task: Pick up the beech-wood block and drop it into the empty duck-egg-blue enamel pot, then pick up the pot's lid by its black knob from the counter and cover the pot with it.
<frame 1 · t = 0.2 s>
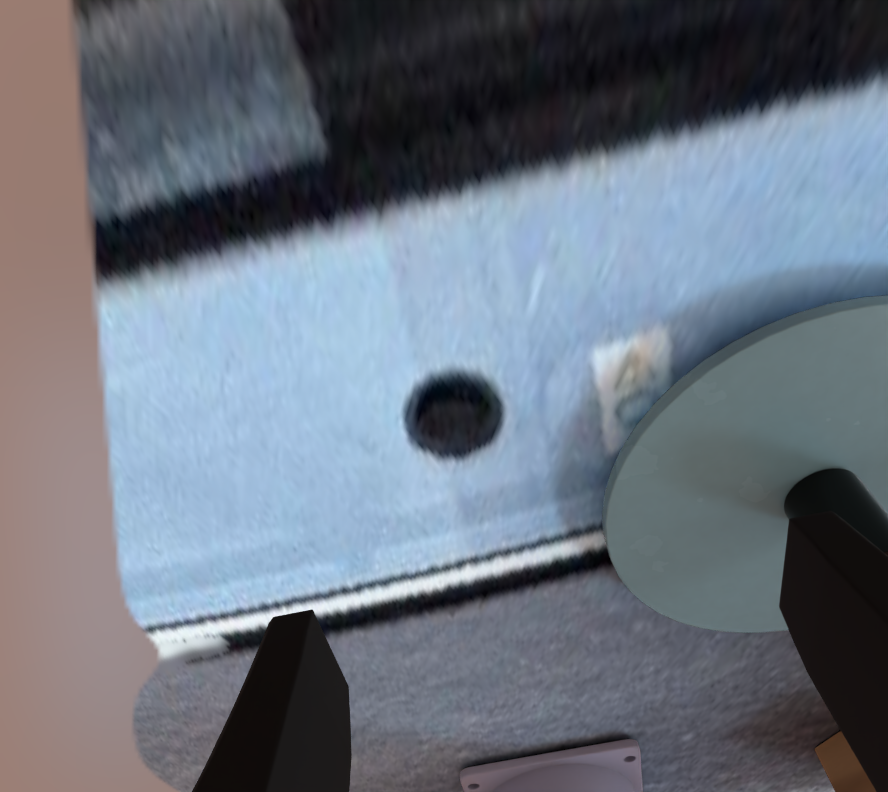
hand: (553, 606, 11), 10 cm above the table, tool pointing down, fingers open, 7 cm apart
lid: (813, 485, 23), point 1 cm above the table
block: (874, 735, 34), on the table
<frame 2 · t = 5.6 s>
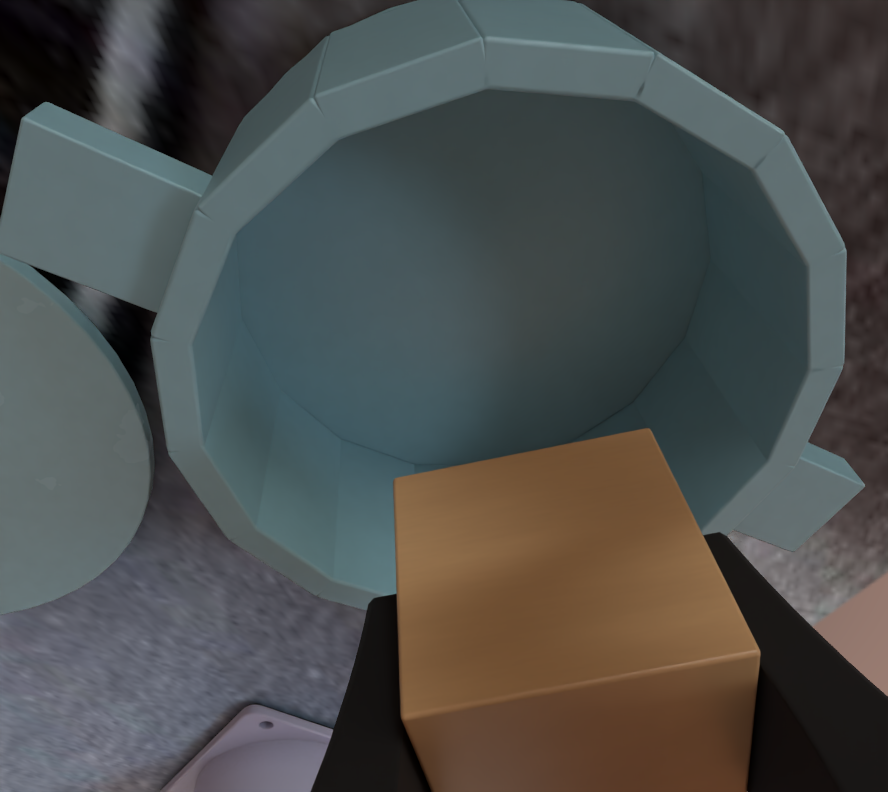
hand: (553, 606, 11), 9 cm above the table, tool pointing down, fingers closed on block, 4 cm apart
pot: (474, 280, 18), on the table
block: (535, 540, 12), point 8 cm above the table, touching gripper
when the fingers open (2 cm above the table, at t = 8.0 s): block stays where it is, resting on pot.
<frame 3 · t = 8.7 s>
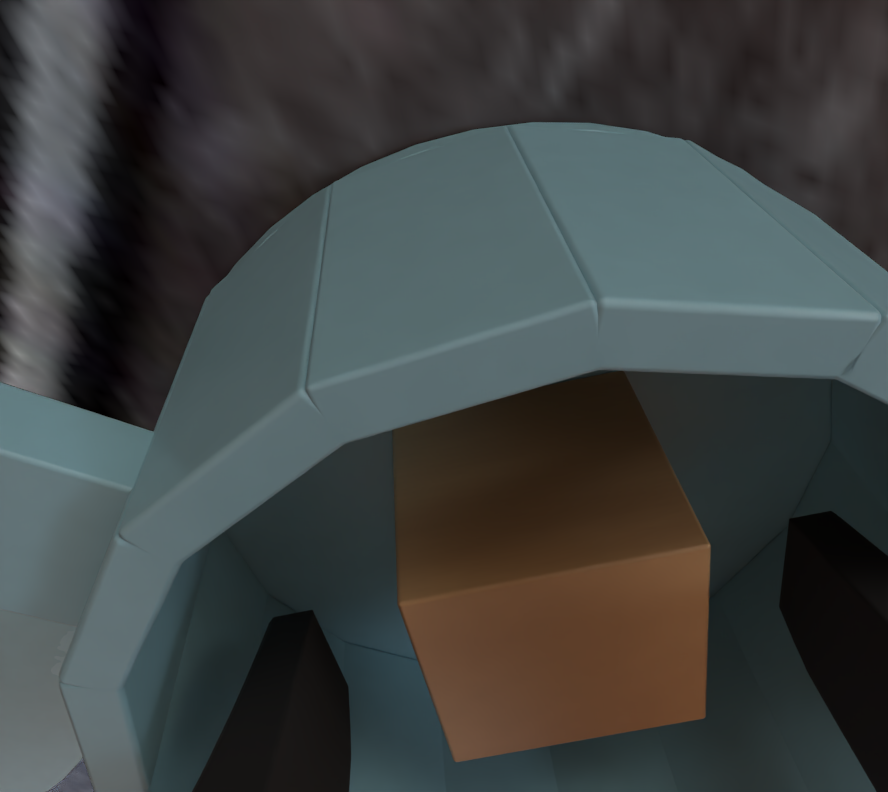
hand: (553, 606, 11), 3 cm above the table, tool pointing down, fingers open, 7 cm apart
pot: (519, 464, 14), on the table
block: (521, 478, 14), resting on pot
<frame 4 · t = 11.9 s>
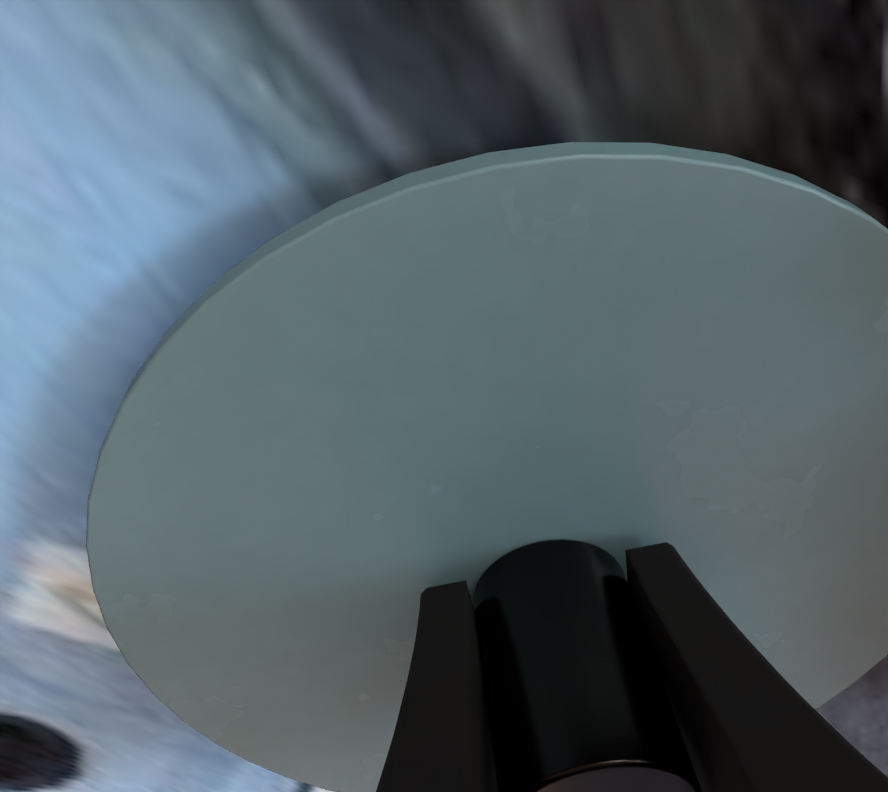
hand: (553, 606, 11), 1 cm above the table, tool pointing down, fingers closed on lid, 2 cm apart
lid: (542, 567, 12), point 1 cm above the table, touching gripper
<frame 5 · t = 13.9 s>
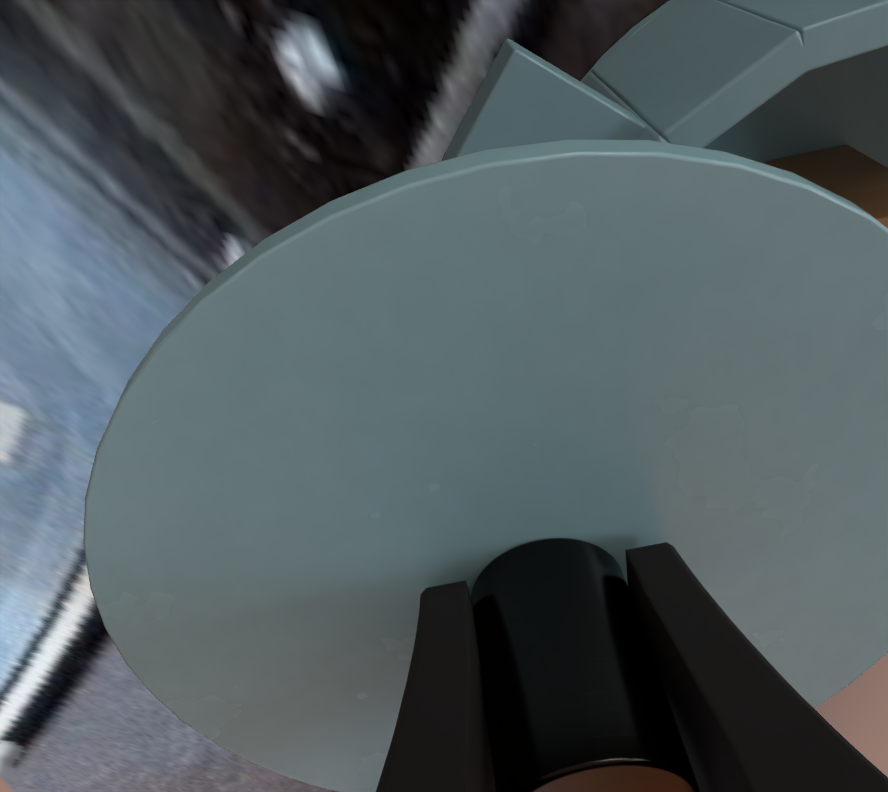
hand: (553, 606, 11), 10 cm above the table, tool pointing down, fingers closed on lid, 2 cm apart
pot: (753, 230, 19), on the table
lid: (540, 565, 12), point 10 cm above the table, touching gripper
block: (759, 236, 19), resting on pot
when the fingers open (6 cm above the table, at t = 16.0 s): lid stays where it is, resting on pot.
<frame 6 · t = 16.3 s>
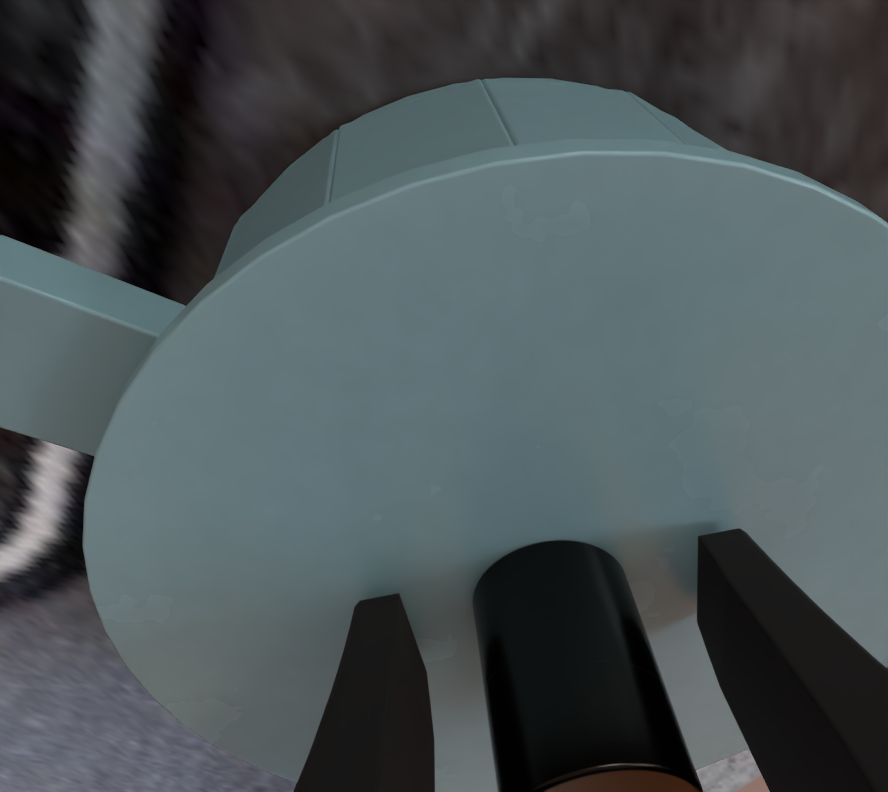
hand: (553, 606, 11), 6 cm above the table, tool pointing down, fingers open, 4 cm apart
pot: (498, 381, 16), on the table
lid: (542, 567, 12), point 5 cm above the table, touching pot
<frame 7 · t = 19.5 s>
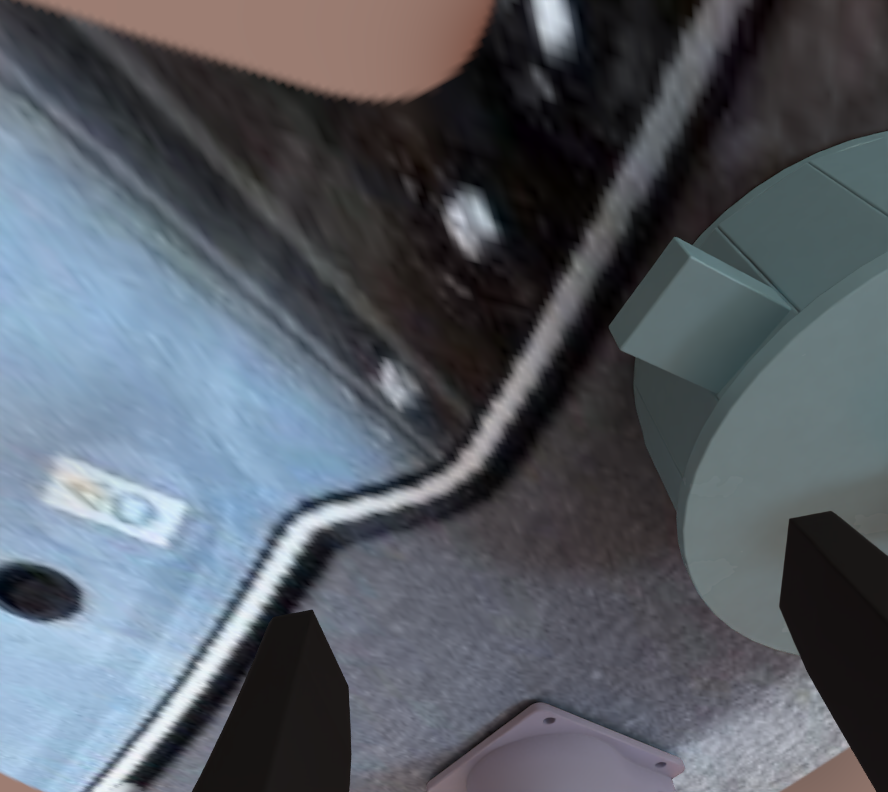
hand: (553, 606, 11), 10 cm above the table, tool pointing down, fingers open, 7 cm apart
pot: (845, 346, 22), on the table
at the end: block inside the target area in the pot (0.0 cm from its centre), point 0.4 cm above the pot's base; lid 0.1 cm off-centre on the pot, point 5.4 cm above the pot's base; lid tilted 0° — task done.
